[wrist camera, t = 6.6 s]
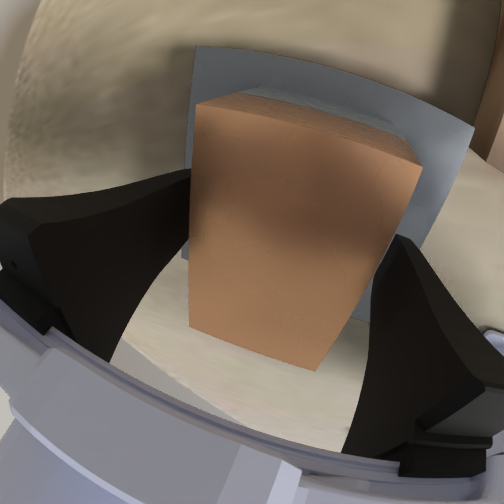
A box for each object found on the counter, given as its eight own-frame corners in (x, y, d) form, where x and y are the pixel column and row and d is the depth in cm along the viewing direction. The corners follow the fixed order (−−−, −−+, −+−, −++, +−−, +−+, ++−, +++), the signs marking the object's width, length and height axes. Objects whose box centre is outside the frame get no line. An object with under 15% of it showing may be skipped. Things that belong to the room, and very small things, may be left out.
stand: (372, 292, 16) (371, 323, 15) (201, 233, 18) (181, 257, 16) (455, 116, 10) (475, 128, 8) (222, 47, 11) (196, 45, 9)
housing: (332, 284, 14) (314, 371, 10) (235, 252, 15) (189, 326, 11) (393, 123, 9) (422, 167, 5) (261, 86, 10) (196, 104, 6)
